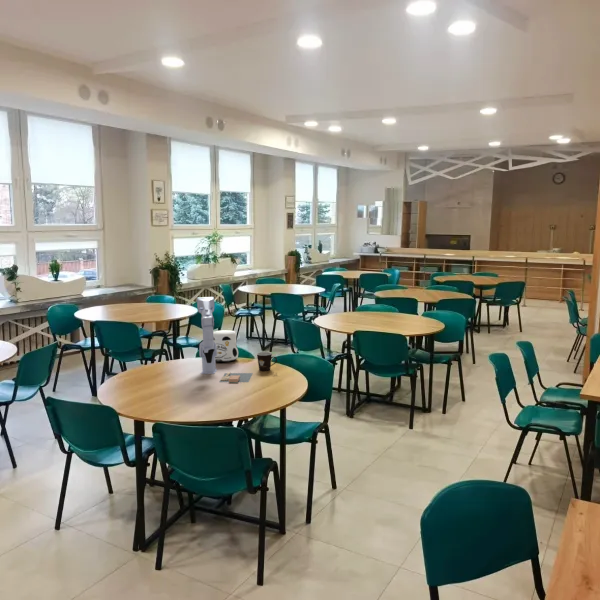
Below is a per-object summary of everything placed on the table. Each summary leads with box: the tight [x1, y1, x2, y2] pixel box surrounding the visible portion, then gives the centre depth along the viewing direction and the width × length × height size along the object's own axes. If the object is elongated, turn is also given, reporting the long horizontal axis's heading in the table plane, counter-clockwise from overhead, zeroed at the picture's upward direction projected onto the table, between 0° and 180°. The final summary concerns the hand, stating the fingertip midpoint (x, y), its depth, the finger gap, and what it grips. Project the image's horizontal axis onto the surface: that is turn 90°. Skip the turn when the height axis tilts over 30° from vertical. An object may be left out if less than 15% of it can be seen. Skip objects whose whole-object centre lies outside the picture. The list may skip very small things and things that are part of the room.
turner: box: [220, 371, 231, 381], centre depth 305 cm, size 14×4×1 cm, turn 177°
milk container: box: [213, 329, 239, 363], centre depth 342 cm, size 17×17×18 cm
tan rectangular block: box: [228, 375, 240, 384], centre depth 297 cm, size 2×5×7 cm
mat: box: [219, 372, 253, 383], centre depth 303 cm, size 18×16×1 cm
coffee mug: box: [256, 351, 278, 372], centre depth 317 cm, size 12×9×10 cm
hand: (209, 362), depth 299 cm, fingers closed
